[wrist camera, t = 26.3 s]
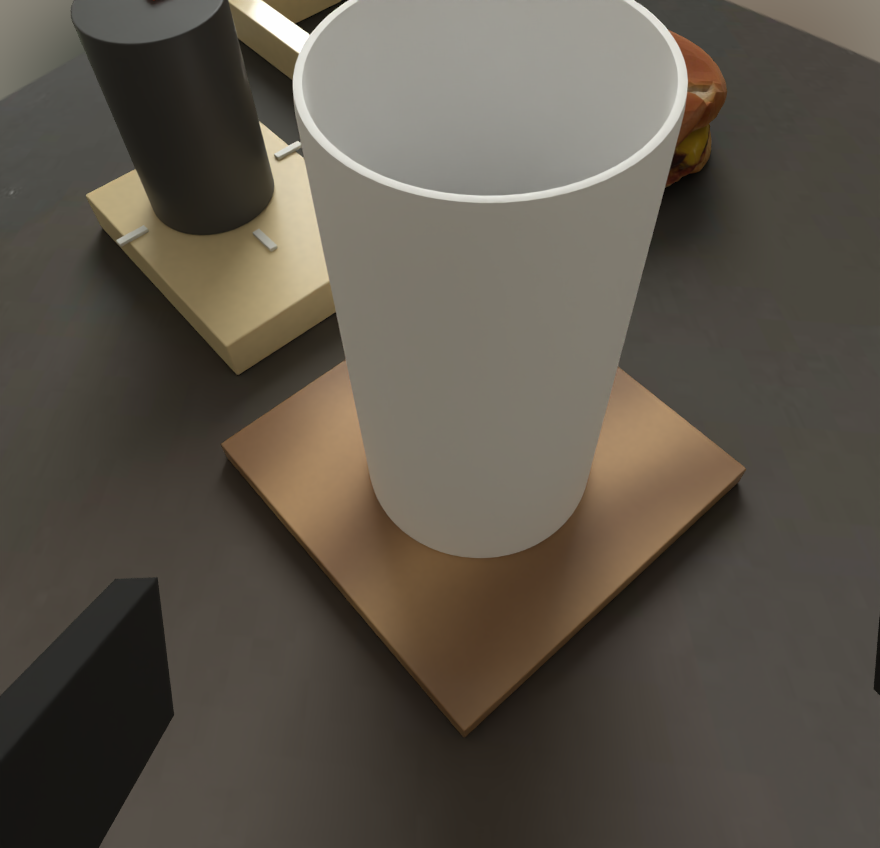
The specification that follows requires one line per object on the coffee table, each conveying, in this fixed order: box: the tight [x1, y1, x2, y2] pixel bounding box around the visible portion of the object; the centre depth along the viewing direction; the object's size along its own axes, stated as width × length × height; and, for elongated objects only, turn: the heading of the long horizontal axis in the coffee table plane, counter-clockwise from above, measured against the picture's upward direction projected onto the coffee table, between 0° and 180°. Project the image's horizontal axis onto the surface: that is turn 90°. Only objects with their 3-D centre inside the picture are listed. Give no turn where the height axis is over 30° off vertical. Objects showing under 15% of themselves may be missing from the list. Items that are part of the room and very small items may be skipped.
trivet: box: [221, 360, 746, 737], centre depth 31 cm, size 14×14×1 cm
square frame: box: [228, 0, 343, 80], centre depth 45 cm, size 16×16×2 cm
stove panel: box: [86, 121, 336, 375], centre depth 37 cm, size 13×10×2 cm
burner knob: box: [71, 0, 274, 235], centre depth 33 cm, size 6×6×9 cm
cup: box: [293, 0, 688, 558], centre depth 23 cm, size 8×8×16 cm
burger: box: [665, 30, 727, 187], centre depth 39 cm, size 10×9×5 cm
